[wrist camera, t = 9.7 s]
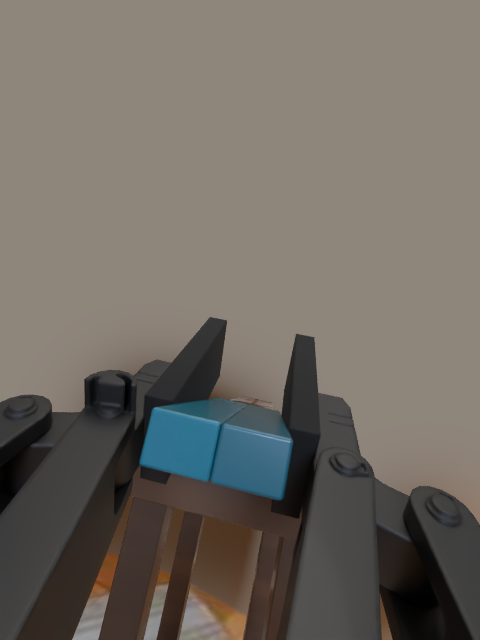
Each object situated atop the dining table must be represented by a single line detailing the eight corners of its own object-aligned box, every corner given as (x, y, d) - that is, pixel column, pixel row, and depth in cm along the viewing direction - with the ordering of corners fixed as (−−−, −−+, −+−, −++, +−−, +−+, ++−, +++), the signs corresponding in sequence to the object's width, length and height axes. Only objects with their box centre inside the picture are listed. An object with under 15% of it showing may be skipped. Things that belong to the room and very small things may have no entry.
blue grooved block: (283, 504, 7) (294, 439, 7) (137, 466, 7) (152, 406, 7) (272, 414, 30) (275, 400, 30) (238, 407, 30) (241, 393, 31)
